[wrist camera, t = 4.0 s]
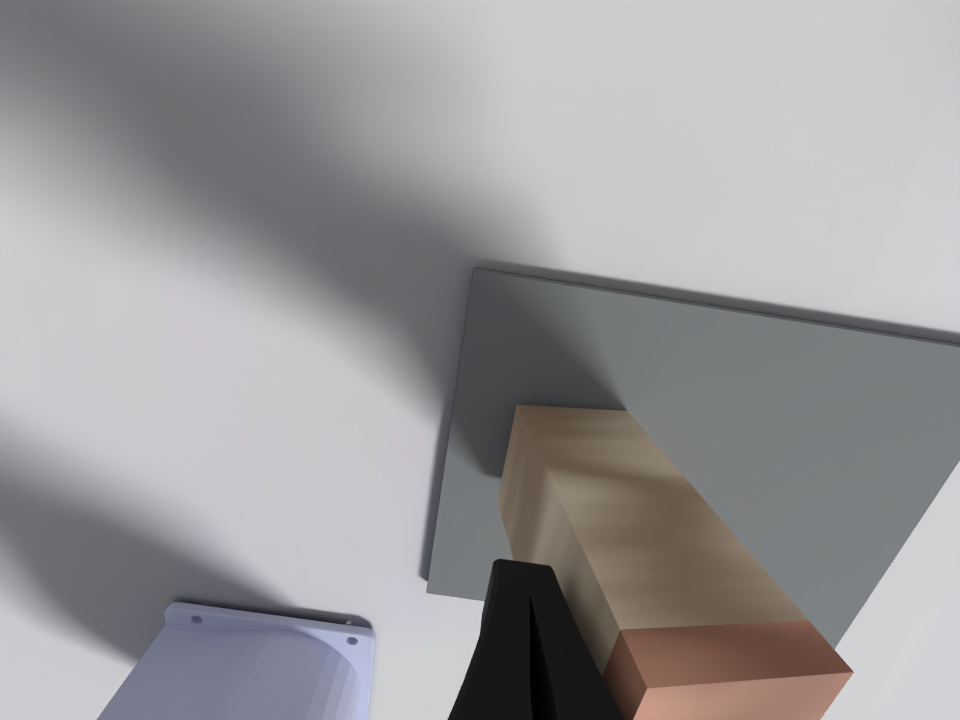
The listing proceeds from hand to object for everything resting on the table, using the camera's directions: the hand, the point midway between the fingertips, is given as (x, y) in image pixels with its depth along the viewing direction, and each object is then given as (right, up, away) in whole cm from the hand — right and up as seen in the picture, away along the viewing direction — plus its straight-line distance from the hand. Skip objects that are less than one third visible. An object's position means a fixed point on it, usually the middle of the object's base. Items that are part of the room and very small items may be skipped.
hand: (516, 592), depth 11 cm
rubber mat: (+7, +1, +7) cm, 10 cm away
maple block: (+2, +2, +6) cm, 6 cm away
